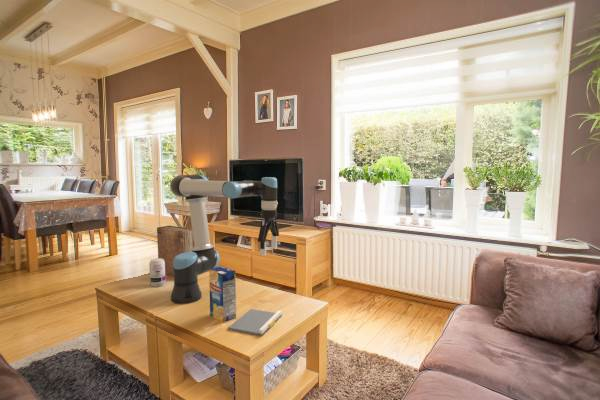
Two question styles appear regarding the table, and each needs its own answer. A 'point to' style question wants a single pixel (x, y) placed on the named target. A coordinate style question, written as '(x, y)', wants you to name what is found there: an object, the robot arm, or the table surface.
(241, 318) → the grey slab
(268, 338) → the table surface
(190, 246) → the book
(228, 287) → the beverage box
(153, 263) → the supplement can
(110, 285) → the table surface
